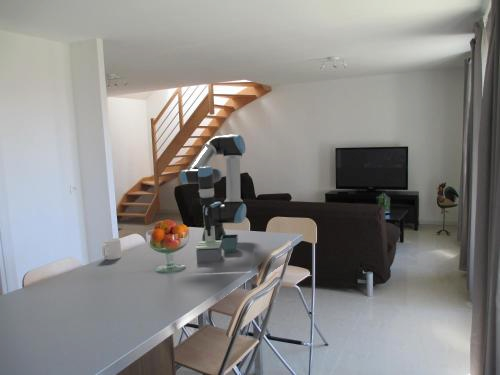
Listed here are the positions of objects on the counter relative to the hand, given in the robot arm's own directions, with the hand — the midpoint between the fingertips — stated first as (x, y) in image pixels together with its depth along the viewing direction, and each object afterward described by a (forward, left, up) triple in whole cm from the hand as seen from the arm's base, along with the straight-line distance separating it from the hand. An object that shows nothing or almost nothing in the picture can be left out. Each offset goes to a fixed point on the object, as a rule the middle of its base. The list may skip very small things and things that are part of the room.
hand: (210, 241), depth 214 cm
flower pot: (-9, +9, -9) cm, 16 cm away
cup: (-7, -56, -9) cm, 58 cm away
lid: (+5, 0, -1) cm, 5 cm away
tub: (+5, 0, -9) cm, 10 cm away
